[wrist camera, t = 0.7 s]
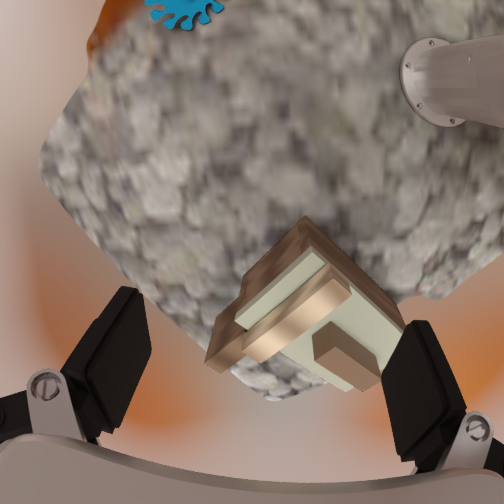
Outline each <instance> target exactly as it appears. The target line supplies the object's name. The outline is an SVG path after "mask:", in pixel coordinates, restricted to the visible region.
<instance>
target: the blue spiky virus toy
mask: <svg viewBox="0 0 504 504" xmlns="http://www.w3.org/2000/svg"><path fill="white" fill-rule="evenodd" d="M208 3H211V8H212V10H213V11H214V12H216V13H217V12H219V11H220V10H222V9H223V5H222V4H220V3H217V2H215V1H213V0H145V5H148V6H150V5H153V4H163V5H165V6H166V8H165V10H163V11H158V10H153V11H151V12H150V14H151V17H152V19H153V20H154V21H156V20H158V19H159V18H160V17H162V16H163V15H165V14H169V13H175V16H174V17H173V18H171V19H166V20H165V21H164V22H163V24H164V25H165V27H167V28H168V29H172V28H173V27H174V25H175V23H176V21H177V20H178V19H179V18H181V17H182V16H184V15H188V18H187V19H186V20H185V21H183V22H182V23H181V28H182V29H186V30H191V29H192V19H193V17H194V15H195V13H196V12H199V11H200V12H201V15H200V16H199V18H198V21H199V22H200V23H201V24H205V23H208V22H210V18H209V17H208V16H207V14H206V11H205V7H206V5H207V4H208Z"/></svg>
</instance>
